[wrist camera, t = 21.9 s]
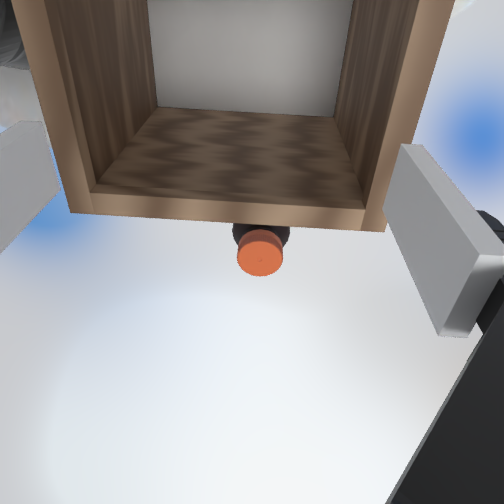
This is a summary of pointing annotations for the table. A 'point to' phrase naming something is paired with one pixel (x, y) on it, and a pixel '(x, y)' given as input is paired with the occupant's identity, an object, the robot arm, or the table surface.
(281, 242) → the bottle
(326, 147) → the cubby
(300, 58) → the table surface
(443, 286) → the robot arm
